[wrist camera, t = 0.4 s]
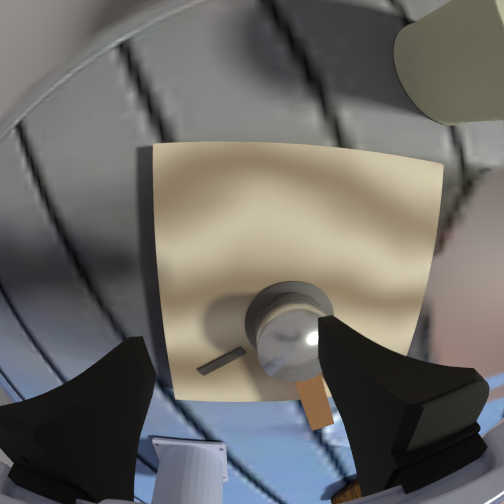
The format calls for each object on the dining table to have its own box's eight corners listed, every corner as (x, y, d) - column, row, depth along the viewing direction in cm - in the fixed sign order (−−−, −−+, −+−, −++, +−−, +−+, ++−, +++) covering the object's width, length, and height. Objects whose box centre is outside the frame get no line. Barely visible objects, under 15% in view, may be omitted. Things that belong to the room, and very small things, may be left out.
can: (421, 137, 18) (548, 139, 7) (372, 29, 16) (467, -43, 4) (487, 114, 18) (590, 114, 6) (448, 21, 15) (538, -17, 4)
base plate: (388, 377, 25) (395, 388, 23) (178, 387, 24) (175, 400, 22) (432, 163, 19) (444, 164, 17) (159, 145, 18) (152, 143, 16)
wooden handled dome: (244, 306, 20) (246, 332, 17) (316, 282, 19) (330, 305, 16) (287, 409, 23) (292, 437, 20) (343, 391, 23) (353, 417, 20)
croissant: (387, 451, 30) (398, 477, 25) (408, 457, 32) (419, 480, 27) (317, 495, 33) (322, 519, 28) (343, 498, 34) (349, 520, 30)
